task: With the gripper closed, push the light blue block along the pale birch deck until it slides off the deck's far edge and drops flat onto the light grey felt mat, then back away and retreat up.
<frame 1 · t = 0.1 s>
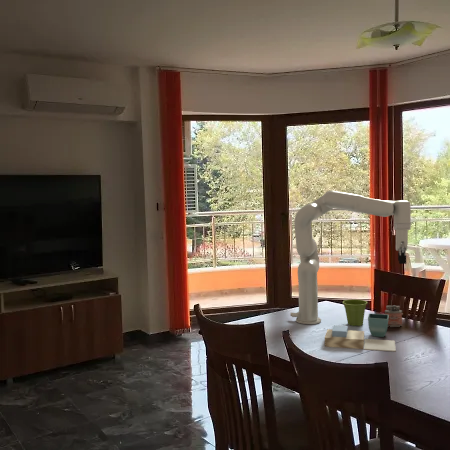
hand: (402, 262, 244), 31 cm above the table, fingers open, 9 cm apart
flower pot: (378, 335, 232), on the table
plant pot: (355, 324, 251), on the table
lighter: (393, 326, 247), on the table
deck: (344, 343, 222), on the table
mat: (379, 345, 217), on the table
light blue block: (340, 331, 222), point 5 cm above the table, touching deck
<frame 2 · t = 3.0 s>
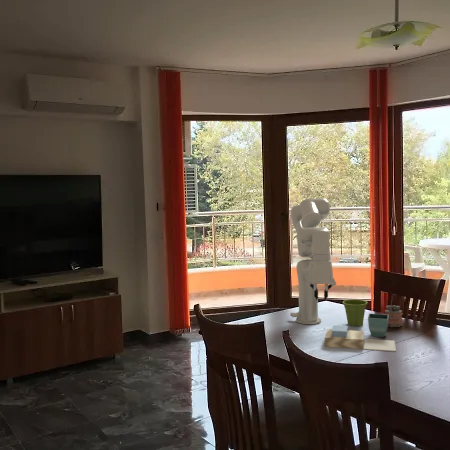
hand: (321, 298, 223), 19 cm above the table, fingers open, 3 cm apart
nothing on the table moved.
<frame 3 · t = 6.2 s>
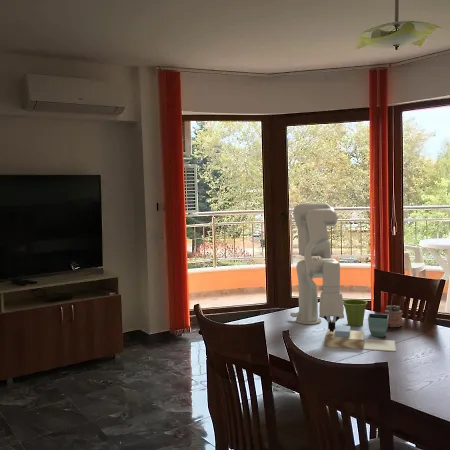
hand: (331, 330, 223), 5 cm above the table, fingers closed
light blue block: (342, 331, 221), point 5 cm above the table, touching deck
everything else where it was.
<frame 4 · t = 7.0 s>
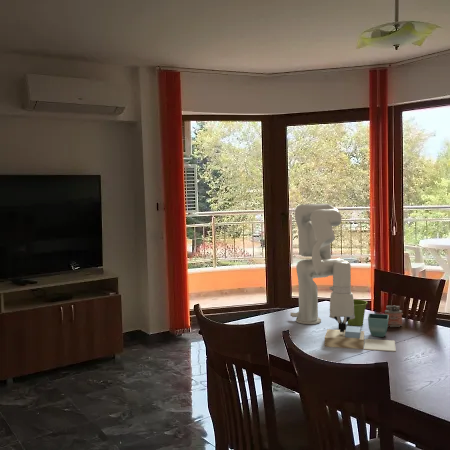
hand: (342, 331, 221), 5 cm above the table, fingers closed
light blue block: (353, 332, 220), point 5 cm above the table, touching deck, gripper
everything else where it was.
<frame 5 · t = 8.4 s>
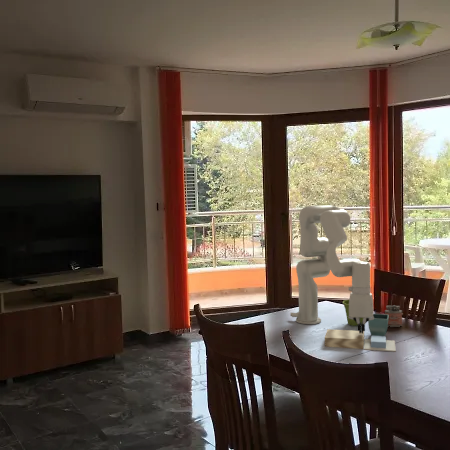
hand: (361, 332, 219), 5 cm above the table, fingers closed
light blue block: (378, 341, 217), point 2 cm above the table, tilted 180°, touching mat
everything else where it was.
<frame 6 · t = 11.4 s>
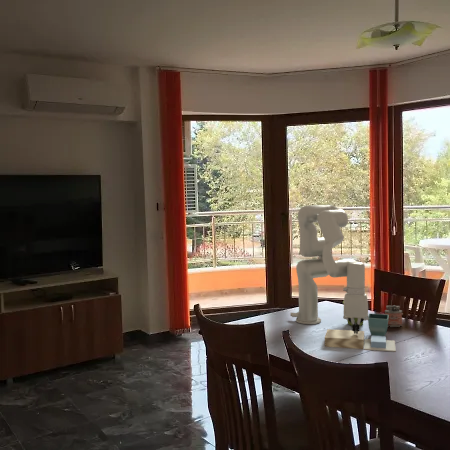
hand: (355, 332, 220), 5 cm above the table, fingers closed
nothing on the table moved.
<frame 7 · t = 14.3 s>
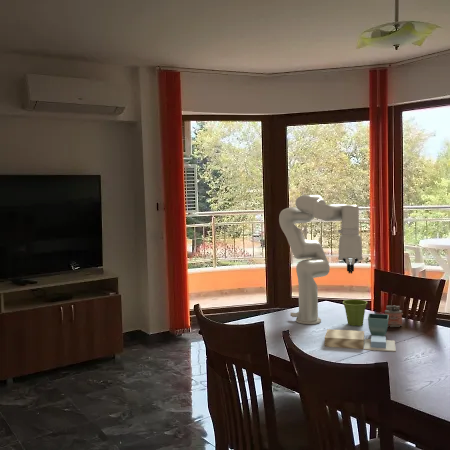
hand: (350, 272, 229), 29 cm above the table, fingers closed
nothing on the table moved.
at the end: light blue block point 1.6 cm above the table; light blue block inside the target area on the mat (0.5 cm from its centre), point 1.6 cm above the mat's base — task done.
